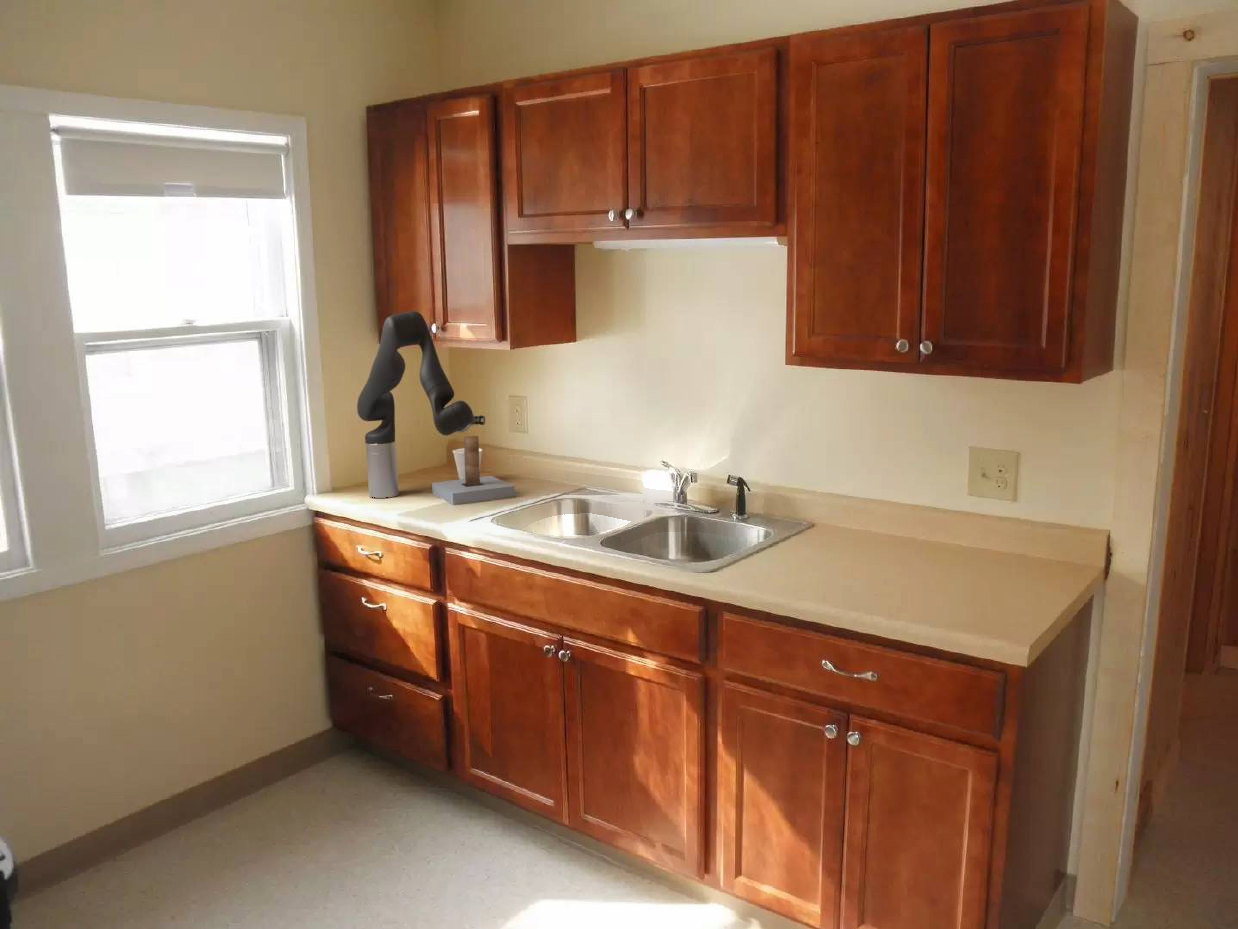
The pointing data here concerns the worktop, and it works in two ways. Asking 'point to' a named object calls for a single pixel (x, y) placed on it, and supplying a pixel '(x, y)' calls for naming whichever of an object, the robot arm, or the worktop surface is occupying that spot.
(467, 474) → the dowel
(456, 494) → the socket block
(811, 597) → the worktop surface
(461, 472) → the cup
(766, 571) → the worktop surface
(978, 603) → the worktop surface
